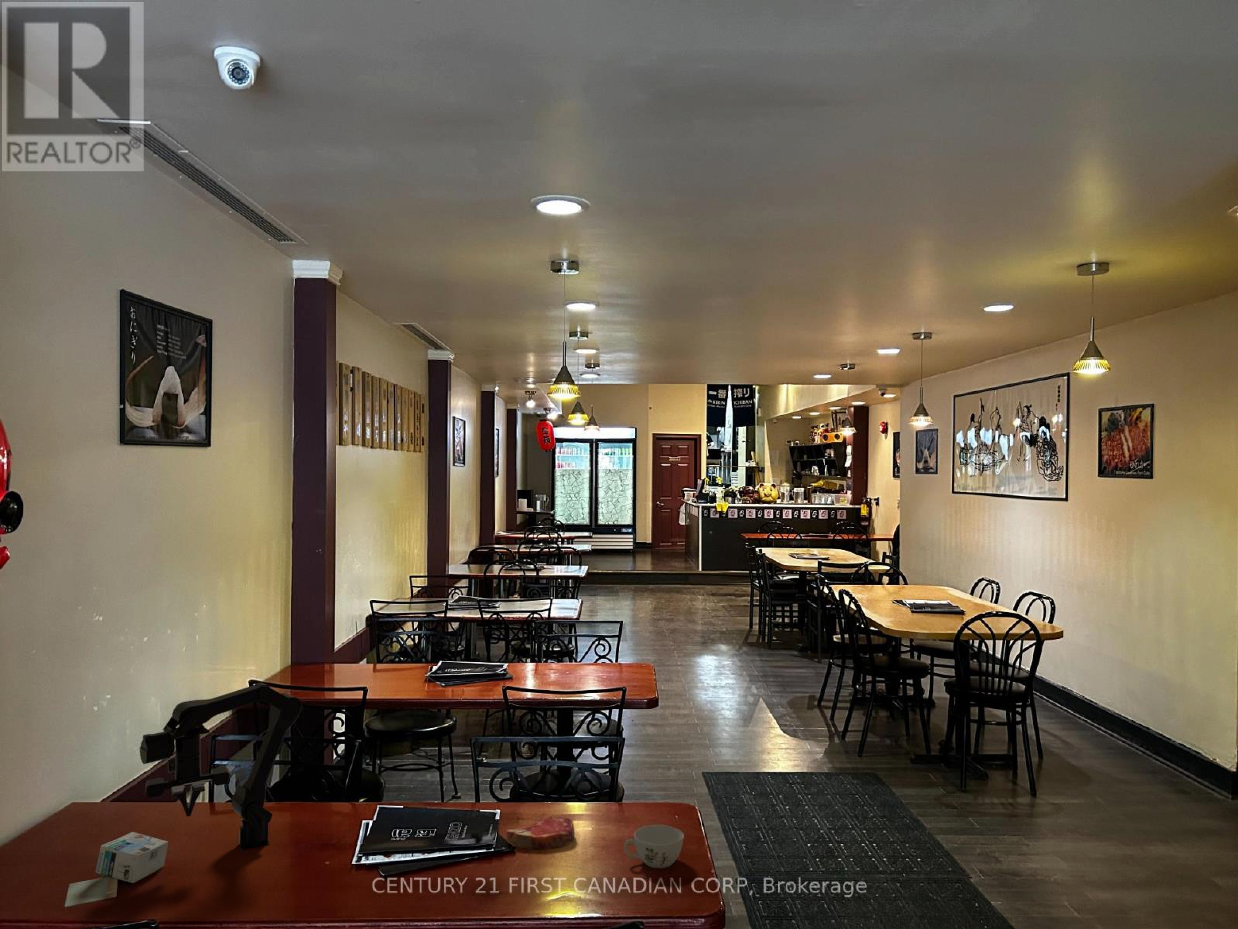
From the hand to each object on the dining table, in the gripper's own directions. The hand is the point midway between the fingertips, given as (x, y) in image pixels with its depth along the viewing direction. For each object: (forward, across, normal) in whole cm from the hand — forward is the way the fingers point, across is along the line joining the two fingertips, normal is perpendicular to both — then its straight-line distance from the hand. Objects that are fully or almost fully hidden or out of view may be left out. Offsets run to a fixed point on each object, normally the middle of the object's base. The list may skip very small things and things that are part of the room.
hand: (188, 816), depth 213 cm
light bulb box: (+8, +8, +4) cm, 12 cm away
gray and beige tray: (+12, +15, +5) cm, 20 cm away
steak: (+14, -82, +33) cm, 90 cm away
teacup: (+14, -101, +58) cm, 118 cm away
